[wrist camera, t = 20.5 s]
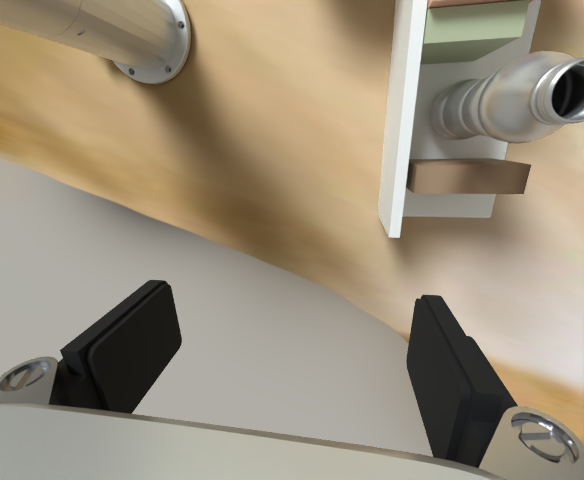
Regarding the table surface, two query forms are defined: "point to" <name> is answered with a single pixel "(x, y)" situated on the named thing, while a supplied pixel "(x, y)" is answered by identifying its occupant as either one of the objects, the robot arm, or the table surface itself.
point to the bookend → (466, 176)
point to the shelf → (432, 82)
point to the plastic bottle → (514, 100)
